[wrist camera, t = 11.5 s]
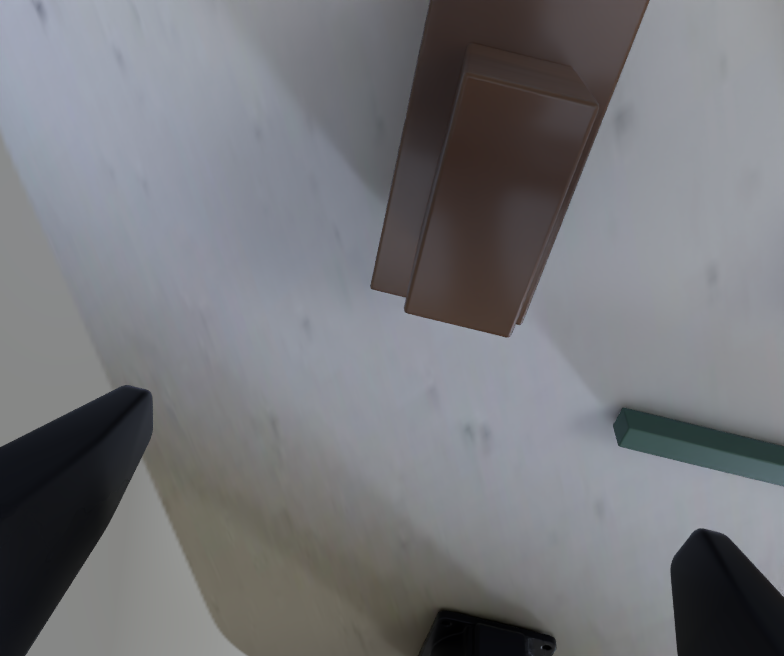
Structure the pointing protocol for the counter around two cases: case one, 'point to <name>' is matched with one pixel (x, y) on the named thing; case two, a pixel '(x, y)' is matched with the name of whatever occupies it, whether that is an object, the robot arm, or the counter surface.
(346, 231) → the counter surface
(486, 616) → the counter surface
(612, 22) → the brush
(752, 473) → the frame
